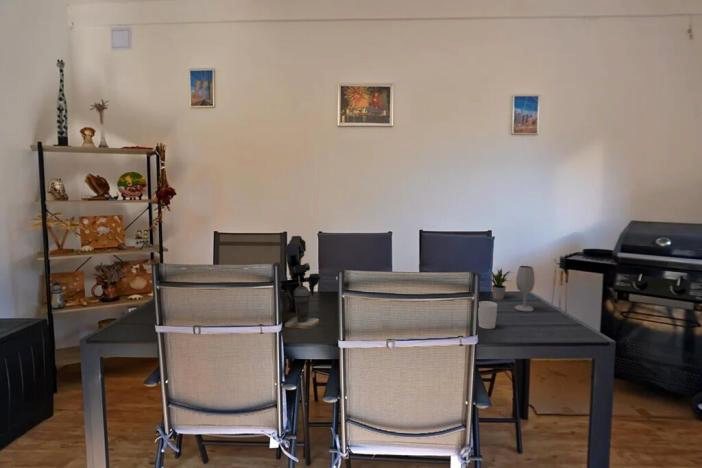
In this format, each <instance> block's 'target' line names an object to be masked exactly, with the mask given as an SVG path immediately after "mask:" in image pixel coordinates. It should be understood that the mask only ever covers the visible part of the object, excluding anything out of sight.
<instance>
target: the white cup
mask: <svg viewBox="0 0 702 468" xmlns="http://www.w3.org/2000/svg"><path fill="white" fill-rule="evenodd" d="M478 303H479V308H478V307H477V315H478V317H477V319H478V327H479V328H482V329H487V330H492V329H495V328H496V321H497V316H498V314H497V313H498V312H497V311H498V304H497V303H496V302H494V301H490V300H489V301H487V300H485V301H482V300H481V301H479V302H478Z"/></svg>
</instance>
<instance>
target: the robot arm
mask: <svg viewBox="0 0 702 468" xmlns="http://www.w3.org/2000/svg"><path fill="white" fill-rule="evenodd" d="M302 237H303V236H301V235H293V236H291V237H290V238H291V239H290V240H289V242H288V243H287V244H286V246H285V247H284V255H285V257H286V264H287V268H288V272H289V273H288V275H289V276H290V278H288V276H286V275H285V276H280V277H281V289H280V290H281V291H283V292H284V293H286V299H288V304H289V305H288V306H289V307H288V309H287V311H289V312H296V307H295V300H294V296H293V295H294V291H295V289H296V288H297V287H298V286H299V279H298V276H299V278H300V285H301V286H304V283H308V290H309V292H310V296H311V297H314V292H315V287H316V286H317V285H318V284H319V281H320V279H321V275H320V274H319V273H310V274H309V276H308V277H305V276H306V273H307V272H308V271H310V270H311V266H310V263H309V262H307V263H304V264H302V259H303V258H304V257H305V252H307V247H306V246H307V244H306V240H304V239H303V238H302Z"/></svg>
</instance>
